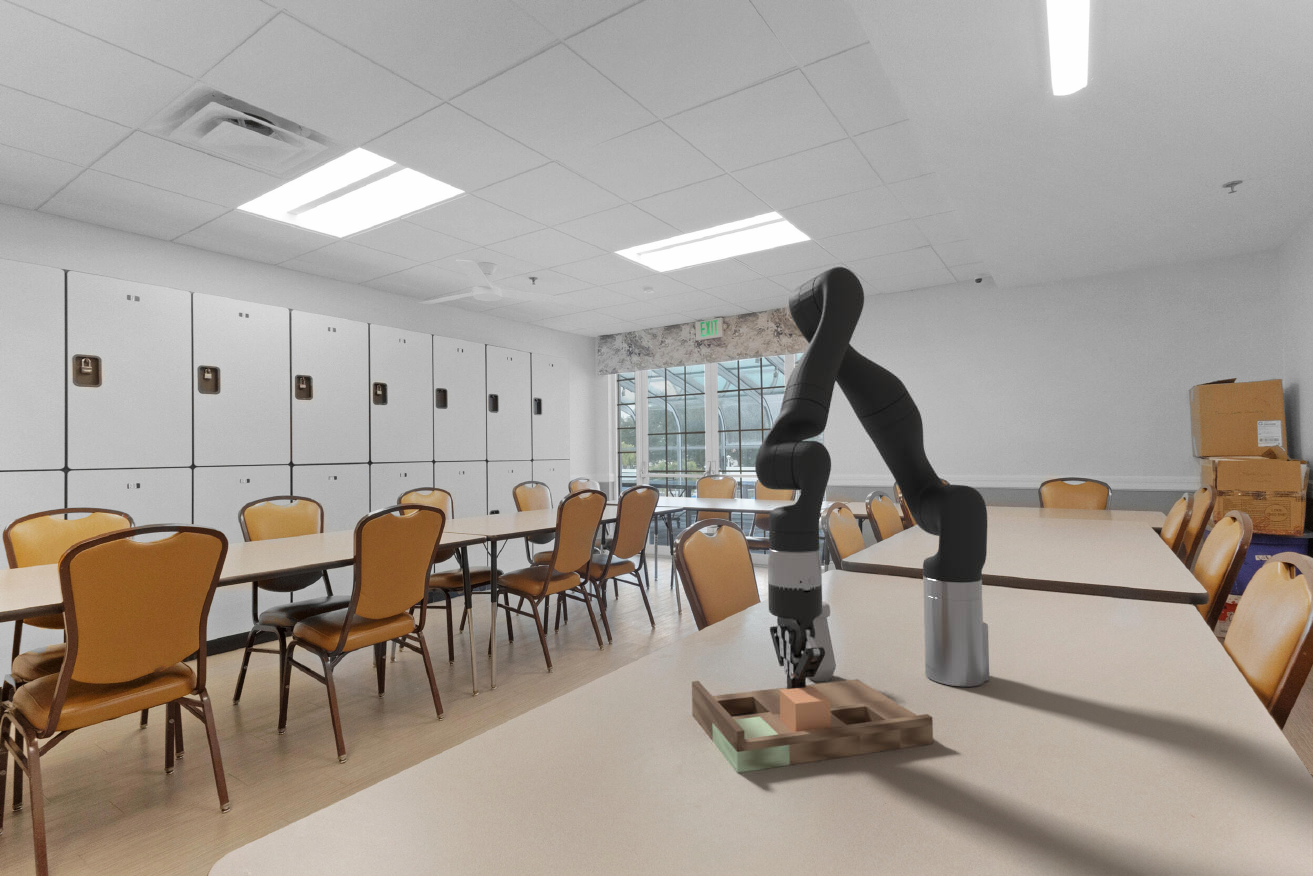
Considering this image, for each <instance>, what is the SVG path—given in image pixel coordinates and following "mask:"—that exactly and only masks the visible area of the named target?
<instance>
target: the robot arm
mask: <svg viewBox="0 0 1313 876" xmlns="http://www.w3.org/2000/svg"><path fill="white" fill-rule="evenodd" d="M864 305H865V293H864V288H863V285H862V283H861V281H860V279H859V278H858V277H857V275H856V274H855V273H854V272H853V271H852V270H850V269H849V268H846V267H843V266H835V267H832V268H829V269H827V270H824V271H823V272H821V273H820V274H818V275H817V276H815V277H813V278H812V279H810V280H808V281H806V282H805V283H803V284H801V285H800V286H798V287H796V288H795V289H794V290H793V291H792V292H791V293H790V295H789V299H788V308H789V309H788V310H789V313H790V315H791V318H792V320H793V322H794V323H795V326H796V327H797V329H798V330H799V332H800V333H801V335H802V336H803V338H804V339H805V340H806V341H807V343H808V346H807V347H806V349H805V350H804V352H803V353H802V354H801V357H800V358H799V360H798V361H797V363H795V364H796V365H795V366H794V367H793V369H792V372H791V374H790V375H789V378H788V380H787V383H786V386H785V389H784V395H783V398H782V403H781V408H780V411H779V413H778V416H777V417H776V419H775V421H774V422H773V424H772V426H771V428H769V431H768V432H767V435H766V436H765V437H764V439H763V441H762V442H761V444H760V446H759V448H758V452H757V454H756V458H755V463H754V464H755V465H754V467H755V468H754V471H755V475H756V477H757V479H758V481H759V483H760V484H761V485H762V486H763V487H764V488H766V489H770V490H778V491H779V490H780V491H781V490H782V491H783V490H785V491H800V494H799V497H798V499H797V501H796V502H795V503H793V504H791V505H784V506H779V507H776V508H774V509H772V510H771V511H770V512H769V518H768V541H769V542H768V543H769V552H768V559H767V560H768V561H767V562H768V563H767V578H768V579H767V581H768V582H767V584H768V585H767V590H768V591H767V594H768V595H767V596H768V612H769V613H770V614H771V615H773V616H775V617H776V624H777V625H775V626H770V627H769V633H770V636H771V640H772V644H773V647H774V650H775V654H776V658H777V660H778V661H777V662H778V664H779V666H780V667H783V672H784V674H785V675H786V687H787V689H794V688H804V687H806V685H807V684H806V683H807V682H806V678H807V677H814V676H815V674H816V672H817V670H818V668H819V666H820V664H821V662H822V660H823V658H824V656H825V650H824V648H823V647H817V645H816V643H815V641H814V638H815V629H814V623H813V620H814V619H815V618H816V617H818V616H820V615H821V614H822V602H823V582H822V581H823V576H822V575H823V574H822V572H823V570H822V561H821V560H822V559H821V552H820V517H821V512H822V506H823V502H824V498H825V493H826V490H827V486H828V483H829V478H830V477H831V471H832V460H831V455H830V453H829V450H828V449H827V447H826V446H825V445H824V444H823V443H822V442H820V441H817V440H809V439H812V438H815V437H818V436H819V435H820V436H821V434H822V433H823V432H825V430H826V427H827V423H828V419H829V413H830V408H831V403H832V399H833V393H834V389H835V384H836V383H837V386H839V388H840V390H841V392H843V395H844V396H845V397H846V399H847V401H848V403H849V404H850V406H851V409H852V410H853V412H854V414H855V415H856V417H857V419H858V420H859V422H860V424H861V426H862V427H863V429H864V430H865V432H866V434H867V435H868V437H869V438H870V439H871V441H872V442H873V444H874V445H875V448H876V450H877V451H878V453H879V454H880V456H881V458H882V460H883V461H884V463H885V465H886V467H887V468H888V470H889V471H890V473H891V474H892V476H893V479H894V480H895V482H896V484H897V486H898V489H899V491H900V493H901V495H902V497H903V500H904V502H905V503H906V506H907V509H908V511H909V513H910V515H911V516H912V518H913V521H914V522H915V524H916V525H917V526H918V527H919V528H920V529H921V530H923V532H926V533H928V534H930V535H933V536H937V537H938V548H937V552H936V553H935V555H932V556H930V557H927V558H925V559H924V560H923V563H922V578H923V581H922V582H923V583H922V584H923V586H922V587H923V619H924V620H923V621H924V622H923V623H924V624H923V625H924V628H923V629H924V660H925V662H924V666H925V667H924V668H925V673H924V674H925V676H926V677H927V678H928V679H929V680H932V681H933V682H937V683H940V684H944V685H948V686H954V687H966V688H967V687H976V686H980V685H983V684H984V683H985V682H988V681H990V677H991V676H990V647H989V645H990V644H989V625H988V624H987V623H986V622H984V612H983V606H984V605H983V579H982V578H983V577H982V576H983V575H982V574H983V569H984V566H985V563H986V560H987V555H988V553H987V551H988V550H987V549H988V547H987V546H988V545H987V544H988V510H987V505H986V503H985V500H984V498H983V495H982V494H981V493H980V492H979V491H978V490H977V489H976V488H974V487H972V486H968V485H963V484H961V485H960V484H950V483H949V484H947V483H946V484H945V483H944V482H943V481H942V480H941V477H939V476H938V474H937V473H936V471H935V470H934V468H933V466H932V464H931V463H930V461H929V459H928V457H927V454H926V451H925V445H924V428H923V426H924V425H923V419H922V414H921V412H920V410H919V408H918V405H917V404H916V402H915V401H914V399H913V397H912V396H911V393H910V392H909V390H908V389H907V387H906V386H905V384H904V383H903V381H902V380H901V379H900V377H898V376H896V375H895V374H894V373H893V372H891V371H889V370H888V369H886V368H885V367H883V366H881V365H879V364H878V363H876V362H874V361H873V360H871V359H869V358H867V357H866V356H864V355H863V354H861V353H860V352H859V351H857V349H855V348H854V347H853V345H851V344H850V342H851V339H852V337H853V334H854V331H855V330H856V327H857V325H858V324H859V320H860V318H861V315H862V312H863V310H864ZM807 679H808V678H807Z"/></svg>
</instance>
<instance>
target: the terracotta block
mask: <svg viewBox="0 0 1313 876" xmlns="http://www.w3.org/2000/svg"><path fill="white" fill-rule="evenodd" d="M780 719H781V720H782V721H783V722H784V723H785V724H786V725H787V726H788V727H789V728H790V729H791V730H792V731H793V732H800V731H807V730H814V729H822V728H829V727H831V700H830V699H829V698H827V697H826V696H825V695H823V694H822V693H821V692H820V691H818V690H817V689H816V688H814V687H804V688H794V689H784V690H780Z"/></svg>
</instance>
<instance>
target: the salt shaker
mask: <svg viewBox="0 0 1313 876" xmlns="http://www.w3.org/2000/svg"><path fill="white" fill-rule="evenodd" d="M830 615H831V608H830V605H829V603H828V602H825V601H822V614H821V615H820V616H818V617H816V618H815V619H814V620H813V623H814V629H815V638H814V641H815V643H816V645H817V647H823V648H824V650H825V656H824V658H823V660H822V662H821V664H820V666H819V668H818V670H817V672H816V674H815V676H814V677H807V679H808V680H811V681H813V682H827V681H830V680H832V678H833V676H834V673H835V670H836V667H837V663H836V659H835V658H836V657H835V654H834V648H833V642H832V639H831V633H830V628H829V623H828V617H830Z"/></svg>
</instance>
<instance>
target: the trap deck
mask: <svg viewBox="0 0 1313 876" xmlns="http://www.w3.org/2000/svg"><path fill="white" fill-rule="evenodd" d="M806 687H814V688H816V689H817V690H818V691H820V692H821V693H822V694H823V695H825V696H826V697H827V698H829V699H830V700H831V727H829V728H822V729H814V730H807V731H800V732H793V731H792V730H791V729H790V728H789V727H788V726H787V725H786V724H785V723H784V722H783V721H782V720H781V719H780V690H784V689H787V686H786V687H779V688H778V687H777V688H769V689H762V690H761V689H760V690H753V691H745V692H736V693H727V694H719V695H712V694H711V693H710V692H709V691H708V690H707V689H706V688H705V686H703V684H702V683H701V682H700V681H699V680H694V681H693V680H692V681H691V703H692V704H691V705H692V706H691V710H692V711H691V713H692V716H693V718H694V720H696V721H697V723H698V724H699V725H700V727H701V728H702V729H703V730H704V732H705V733H706V734H707V735H708V737H709V738H710V739H711V741H712V742H713V744H714V745H715V746H716V747H717V749H718V750H719V751H720V752H721V753H722V755H723V756H724V757H725V759H726V761H728V762H729V764H730V766H731V767H732V768H733V769H734V770H735V771H736V772H737V773H745V772H751V771H758V770H764V769H770V768H778V767H784V766H790V765H791V766H792V765H800V764H805V763H812V762H817V761H819V762H820V761H824V760H825V761H826V760H832V759H840V758H845V757H851V756H857V755H858V756H859V755H865V754H871V753H878V752H885V751H891V750H898V749H904V748H912V747H918V746H919V747H920V746H925V745H931V744H934V731H933V730H934V729H933V726H934V725H933V716H931V715H930V714H927V713H926V714H918V715H917V714H915V713H914V712H913V711H911V710H909V709H908V708H906V707H904V706H903V705H901V704H899V703H898V702H896V701H895V700H893V699H891V698H889V696H888V697H887V696H886V695H884V694H883V693H882V692H880V691H878V690H876V689H875V688H873V687H871V686H870V685H868V684H866V683H865V682H863V681H862V680H861V679H858V678H856V679H849V680H848V679H847V680H838V681H829V682H821V683H813V684H806Z"/></svg>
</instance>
